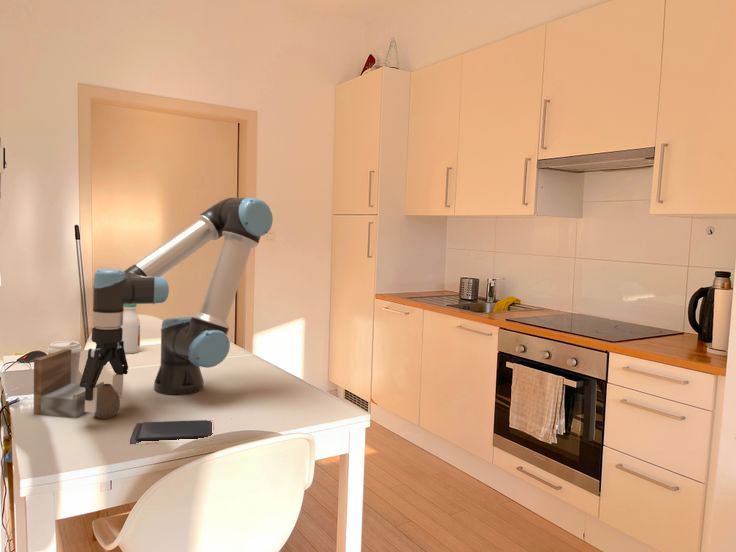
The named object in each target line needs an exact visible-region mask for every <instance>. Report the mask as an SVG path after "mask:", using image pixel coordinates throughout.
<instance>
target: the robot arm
mask: <svg viewBox="0 0 736 552" xmlns="http://www.w3.org/2000/svg"><path fill="white" fill-rule="evenodd" d="M273 220H274V219H273V213H272V210H271V208H270V206H269V204H267V202H266V201H264V200H262V199H260V198H254V197H251V196H250V197H227V198H225V199H222V200H220V201H218V202H217V203H215V204H213V205H212V206H211V207H209V208H207V209H206V210H205V211H203V212H201V214H199V215H198V216H197V217H196V221H194V222H193V223H192V224H190V225H189V226H188V227H186V228H185V229H183V230H182V231H180V232H179V233H178V234H176V235H174V236H172V237H171V238H170V239H169V240H167V241H166V242H164V243H163V244H162V245H160V246H159V247H157V248H156V249H154V250H153V251H151V252H150V253H149V254H147V255H145V256H144V257H143V258H142V259H140V260H139V261H137V262H135V263H134V264H132V265H131V266H129V267H128V268H126V269H125V270H122V269H114V268H100V269H97V270H96V271H95V272H94V278H93V285H92V289H93V290H92V291H93V293H92V294H93V295H92V300H93V301H92V314H91V316H92V321H91V322H92V324H91V325H92V328H91V341H92V342H93V343H95V348H88V351H87V358H86V362H85V365H84V369H83V372H82V375H81V378H80V383H79V384H80V387H83V388H85V412H86V413H90V414H91V413H92V414H94V413H95V412H96V403H97V387H95V386H96V384H97V383H98V382H99V381H98V380H99V378H100V376H101V373H102V371H103V368H105V366H106V365H107V363H109V364H110V366H111V368H112V369H113V374H112V384H111V385H112V387H113V389H114V390H115V391H116V392H117V393H118V395H119V398H120V399H122V398H123V394H124V391H123V390H124V375H127V374H128V372H129V371H128V370H129V364H128V359H127V357H126V354H125V351H124V341H122V333H123V329H122V327H121V326H122V325H123V314H124V310H125V308H124V304H137V305H146V304H147V305H148V304H150V305H155V304H162V303H164V302H166V301H167V299H168V297H169V292H170V289H169V288H170V287H169V283H168V280H167V279H166V278H165V277H162V276H163V275H164V274H166V273H167V272H169V271H170V270H172V269H173V268H175V267H176V266H177V265H179V264H180V263H182V262H183V261H185V260H186V258H188V257H190V256H191V255H193V254H194V253H196V252H197V251H198V250H199V249H201V248H203V247H204V246H205V245H207V244H208V243H209V242H211V241H217V240H218V239H220V238H221V237H223V238H224V241H223V244H222V247H221V249H220V252H219V254H218V258H217V260H216V264H215V266H214V270H213V271H212V274H211V277H210V281H209V282H208V286H207V289H206V291H205V294H204V296H203V297H204V298H203V300H202V303H201V306H200V308H199V311H198V313H196V314H193V315H192V316H182V317H181V316H179V317H169V318H165V319H163V320H162V324H161V328H160V332H161V333H160V335H161V337H160V338H161V339H160V343H161V344H160V366H159V369H158V371H157V374H156V376H155V380H154V382H153V383H154V384H153V389H154V391H155V392H157V393H160V394H164V395H187V394H193V393H197V392H199V390H200V391H201V389H202V390H203V389H204V383H205V382H204V381H205V380H204V377H203V375H202V371H201V368H209V369H210V368H213V367H216V366H217V365H220V364H221V363H222V362H223V361H224V360H225V359H226V357H227V356H228V354H229V352H230V350H231V349H230V347H231V343H230V341H229V337H228V333H229V329H230V327H229V326H230V325H229V324H228V322H227V320H228V318H229V314H230V312H231V308H232V306H233V303H234V300H235V296H236V295H237V291H238V288H239V286H240V283H241V280H242V277H243V274H244V271H245V268H246V265H247V263H248V259H249V256H250V254H251V250H252V249H253V248H255V247H257V246H258V245H259V243H260V240H261V237H262V236H265V235H266V234H268V233H269V232H270V231H271V229H272V226H273V223H274V221H273Z"/></svg>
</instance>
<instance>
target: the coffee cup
mask: <svg viewBox="0 0 736 552" xmlns="http://www.w3.org/2000/svg"><path fill="white" fill-rule="evenodd" d="M80 344H81V343H80V342H79V341H75V340H60V341H53V342H51V343H50V344H49V346H48V347H47V349H46V353H48V354H51V353H54V352H57V351H60V350H63V349H71V383H75V384H78V377H79V369H80V358H81V352H83V348H82V345H80ZM48 354H47V355H48Z"/></svg>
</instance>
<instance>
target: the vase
mask: <svg viewBox="0 0 736 552" xmlns="http://www.w3.org/2000/svg"><path fill="white" fill-rule="evenodd" d="M120 405H121V398H119V395H118V393H117V392H116V391H115V390H114V389H113V387H112V384H111V383H104V384H102V385H101V388H100V389H99V390H98V391H97V403H96V412H95V413H93V415H95V416H96V417H97V418H98V419H111V418H113V417H115V416H116V415H117V413H118V412H119V410H120Z"/></svg>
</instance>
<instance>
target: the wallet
mask: <svg viewBox="0 0 736 552" xmlns="http://www.w3.org/2000/svg"><path fill="white" fill-rule="evenodd" d="M211 421H212V420H207V419H205V420H204V419H200V420H199V419H198V420H196V419H195V420H171V421H170V420H168V421H167V420H166V421H143V422H138V423H136V425H135V427H134V428H133V431H132V433H131V436H130V439H129V441H130V444H136V443H139V442H141V441H159V440H177V439H178V440H179V439H198V438H204V437H208V436H211V435H212V434H213V433H212V422H211ZM130 444H129V445H130Z"/></svg>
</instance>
